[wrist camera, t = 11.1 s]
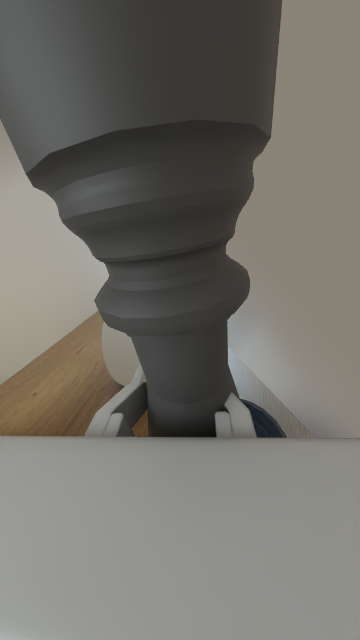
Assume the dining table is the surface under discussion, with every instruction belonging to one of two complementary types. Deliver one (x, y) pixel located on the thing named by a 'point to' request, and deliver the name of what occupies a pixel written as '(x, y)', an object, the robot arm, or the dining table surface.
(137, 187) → the candle holder
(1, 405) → the dining table surface
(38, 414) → the dining table surface
